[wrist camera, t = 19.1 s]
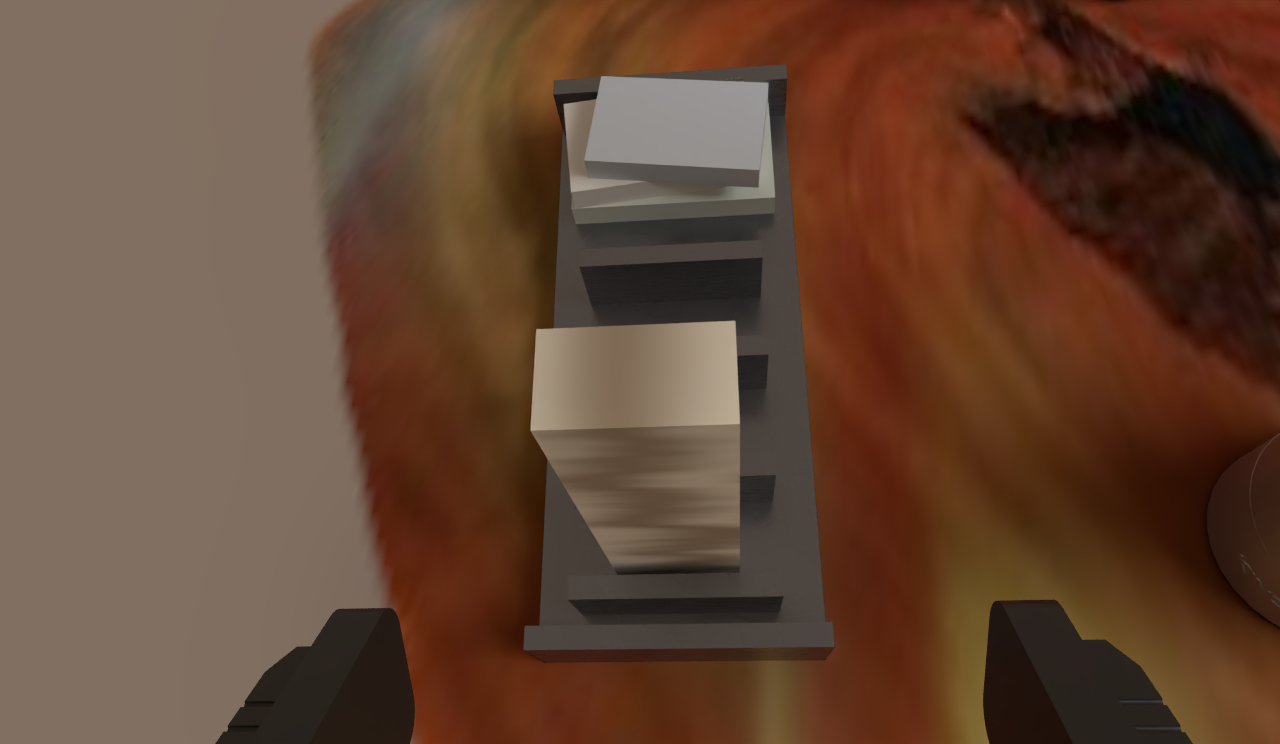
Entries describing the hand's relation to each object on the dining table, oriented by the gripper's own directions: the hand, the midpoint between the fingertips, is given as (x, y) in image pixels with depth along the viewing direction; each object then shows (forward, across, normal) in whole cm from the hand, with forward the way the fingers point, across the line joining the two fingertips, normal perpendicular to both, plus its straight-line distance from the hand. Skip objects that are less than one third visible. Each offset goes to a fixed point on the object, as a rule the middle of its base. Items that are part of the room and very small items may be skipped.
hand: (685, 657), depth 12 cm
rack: (+35, +2, +8) cm, 36 cm away
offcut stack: (+42, +2, 0) cm, 42 cm away
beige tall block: (+26, +2, +15) cm, 30 cm away
